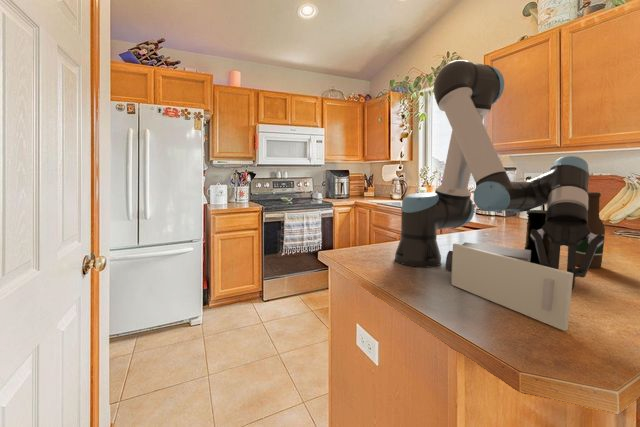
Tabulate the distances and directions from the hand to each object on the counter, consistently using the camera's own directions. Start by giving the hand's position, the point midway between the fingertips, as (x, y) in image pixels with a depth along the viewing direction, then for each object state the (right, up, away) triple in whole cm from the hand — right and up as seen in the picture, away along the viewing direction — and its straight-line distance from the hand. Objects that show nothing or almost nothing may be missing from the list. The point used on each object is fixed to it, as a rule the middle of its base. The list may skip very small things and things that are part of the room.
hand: (560, 303), depth 61 cm
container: (+24, 0, +41) cm, 48 cm away
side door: (-7, -3, +10) cm, 12 cm away
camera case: (-3, -2, +23) cm, 23 cm away
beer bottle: (+40, 0, +41) cm, 57 cm away
